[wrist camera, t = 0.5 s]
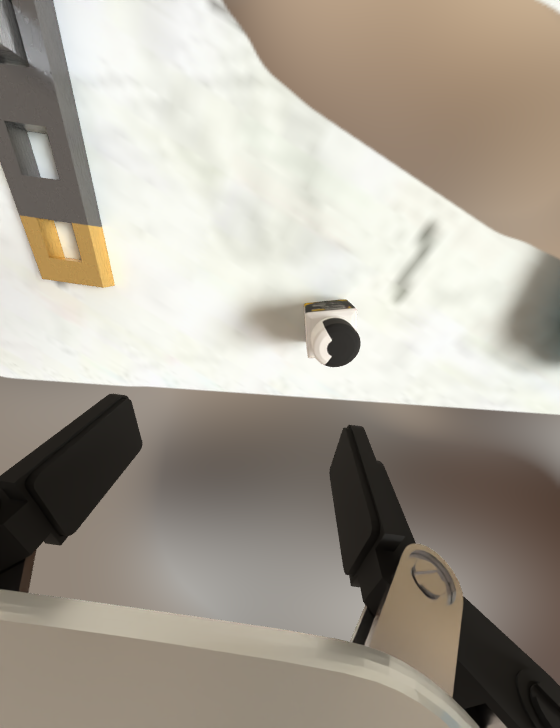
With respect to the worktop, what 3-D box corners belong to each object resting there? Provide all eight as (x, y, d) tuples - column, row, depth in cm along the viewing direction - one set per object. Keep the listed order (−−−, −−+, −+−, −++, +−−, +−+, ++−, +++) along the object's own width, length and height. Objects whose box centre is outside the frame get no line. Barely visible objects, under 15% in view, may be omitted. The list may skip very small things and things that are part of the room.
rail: (-50, -50, 22) (-88, -83, 20) (45, -36, 22) (17, -68, 20) (57, 277, 37) (42, 278, 35) (114, 285, 37) (103, 287, 35)
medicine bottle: (347, 298, 35) (368, 317, 25) (345, 339, 39) (364, 371, 28) (303, 303, 36) (306, 323, 26) (306, 342, 39) (309, 375, 29)
